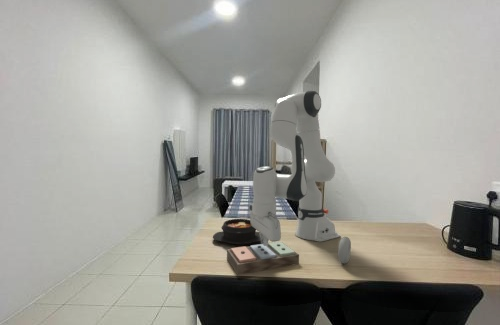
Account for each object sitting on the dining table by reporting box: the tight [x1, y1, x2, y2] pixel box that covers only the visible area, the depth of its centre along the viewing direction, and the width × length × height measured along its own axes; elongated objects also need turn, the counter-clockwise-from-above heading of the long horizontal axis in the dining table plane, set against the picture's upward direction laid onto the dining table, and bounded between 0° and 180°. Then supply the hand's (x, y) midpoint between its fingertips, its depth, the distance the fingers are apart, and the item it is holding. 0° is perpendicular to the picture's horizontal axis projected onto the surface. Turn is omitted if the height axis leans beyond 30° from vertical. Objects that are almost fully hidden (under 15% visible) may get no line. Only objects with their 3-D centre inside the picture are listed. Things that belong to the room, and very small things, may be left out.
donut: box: [337, 236, 352, 265], centre depth 93 cm, size 10×4×10 cm, turn 148°
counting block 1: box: [230, 246, 256, 263], centre depth 90 cm, size 6×11×4 cm, turn 21°
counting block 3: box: [268, 241, 296, 257], centre depth 96 cm, size 6×11×4 cm, turn 21°
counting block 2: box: [250, 243, 276, 260], centre depth 93 cm, size 6×11×4 cm, turn 21°
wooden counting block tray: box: [226, 241, 300, 275], centre depth 93 cm, size 24×13×4 cm, turn 111°
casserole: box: [212, 218, 261, 245], centre depth 114 cm, size 25×19×8 cm
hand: (264, 244), depth 93 cm, fingers closed
